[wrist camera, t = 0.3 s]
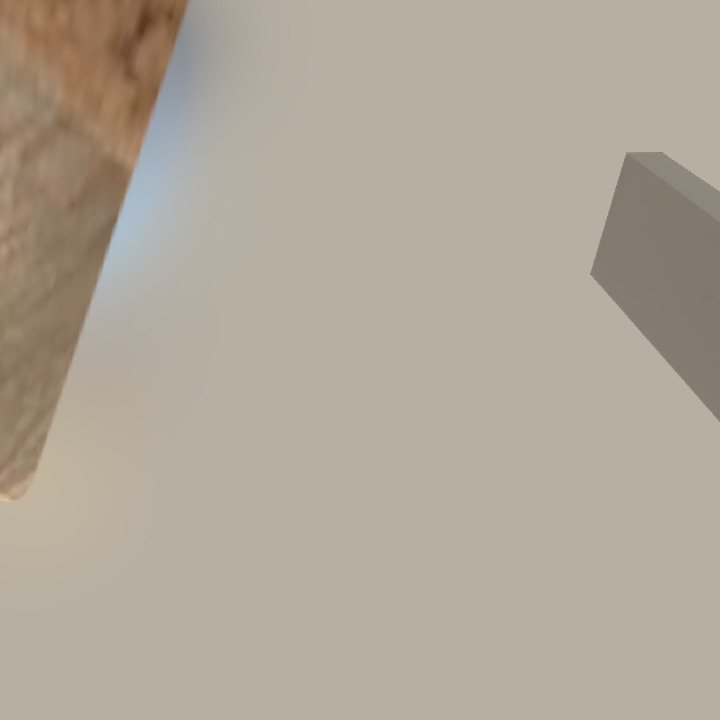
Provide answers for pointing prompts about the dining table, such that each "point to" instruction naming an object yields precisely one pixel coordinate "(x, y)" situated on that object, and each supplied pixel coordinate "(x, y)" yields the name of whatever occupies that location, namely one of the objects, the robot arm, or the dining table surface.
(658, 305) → the robot arm
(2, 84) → the dining table surface
